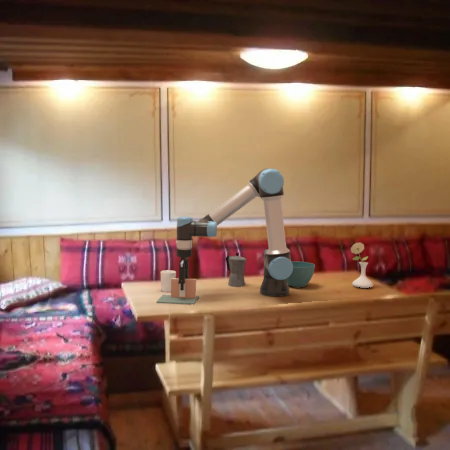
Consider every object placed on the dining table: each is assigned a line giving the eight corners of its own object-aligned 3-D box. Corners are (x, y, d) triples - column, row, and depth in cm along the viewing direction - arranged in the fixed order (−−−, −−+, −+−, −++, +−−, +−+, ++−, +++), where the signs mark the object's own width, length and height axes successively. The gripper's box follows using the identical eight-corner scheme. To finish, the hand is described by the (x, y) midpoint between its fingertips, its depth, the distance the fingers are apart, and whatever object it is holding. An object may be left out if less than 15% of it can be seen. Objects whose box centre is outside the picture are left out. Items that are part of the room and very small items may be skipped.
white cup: (161, 292, 306) (161, 273, 305) (159, 289, 314) (159, 270, 313) (176, 292, 308) (176, 272, 307) (174, 288, 316) (174, 270, 315)
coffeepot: (251, 286, 327) (252, 253, 325) (239, 288, 320) (239, 255, 319) (231, 281, 338) (232, 250, 336) (219, 283, 332) (220, 251, 330)
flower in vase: (371, 285, 336) (373, 241, 333) (374, 289, 325) (376, 244, 322) (347, 284, 337) (349, 240, 335) (350, 288, 326) (352, 243, 323)
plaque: (195, 297, 294) (196, 279, 293) (195, 298, 292) (195, 280, 291) (171, 296, 296) (171, 278, 295) (170, 297, 293) (171, 279, 293)
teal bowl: (320, 288, 325) (321, 266, 323) (290, 290, 318) (291, 267, 317) (303, 282, 341) (304, 260, 340) (275, 283, 335) (275, 262, 333)
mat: (198, 297, 297) (198, 296, 297) (193, 304, 282) (193, 303, 282) (162, 295, 299) (162, 294, 299) (156, 302, 284) (156, 301, 284)
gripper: (180, 245, 301) (179, 290, 304) (172, 251, 282) (172, 299, 285) (195, 246, 300) (194, 291, 303) (188, 251, 281) (187, 299, 284)
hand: (183, 295), depth 294 cm, fingers open, 6 cm apart
